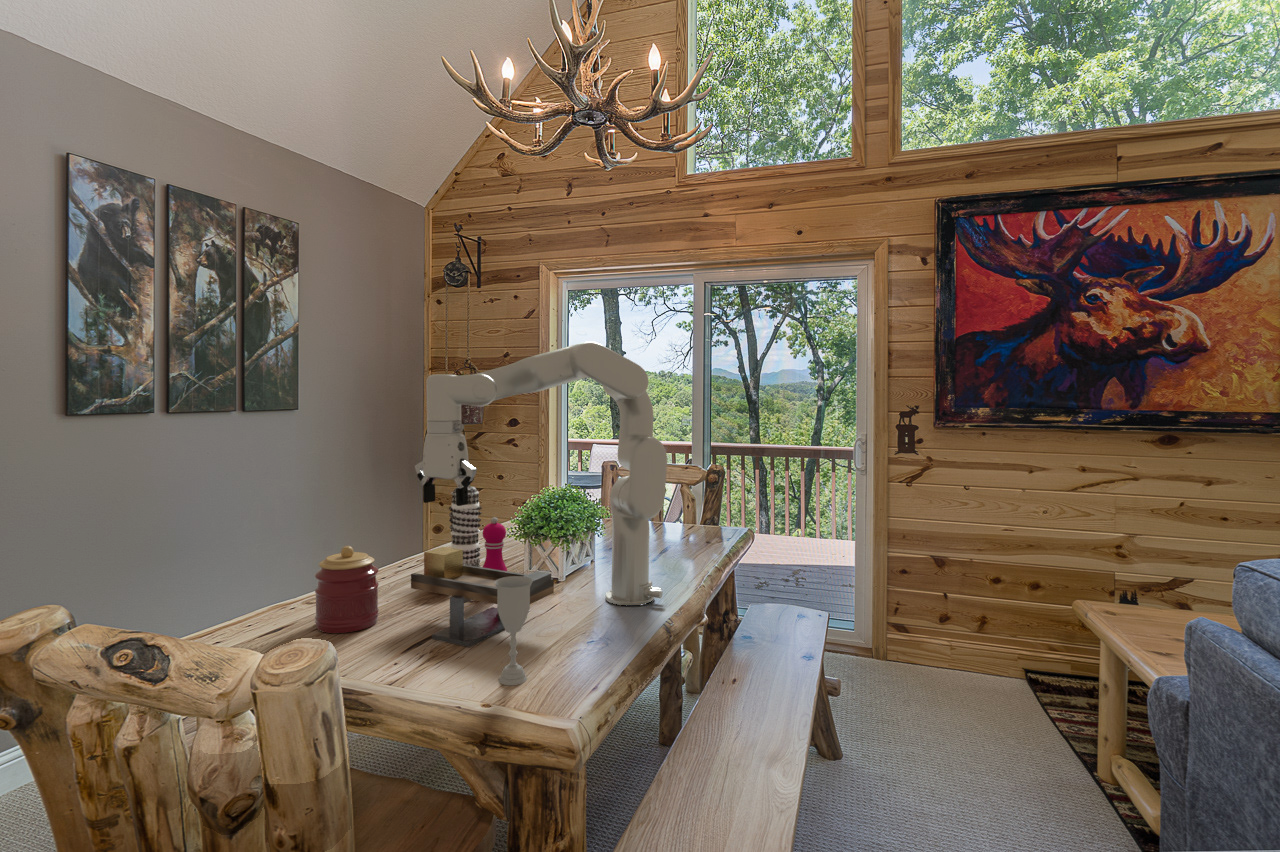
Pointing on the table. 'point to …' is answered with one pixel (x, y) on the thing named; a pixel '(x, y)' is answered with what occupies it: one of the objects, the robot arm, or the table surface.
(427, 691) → the table surface
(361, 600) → the canister
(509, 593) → the chalice
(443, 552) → the block
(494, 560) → the pepper mill
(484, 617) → the stand
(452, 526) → the decorative candle
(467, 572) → the beam
